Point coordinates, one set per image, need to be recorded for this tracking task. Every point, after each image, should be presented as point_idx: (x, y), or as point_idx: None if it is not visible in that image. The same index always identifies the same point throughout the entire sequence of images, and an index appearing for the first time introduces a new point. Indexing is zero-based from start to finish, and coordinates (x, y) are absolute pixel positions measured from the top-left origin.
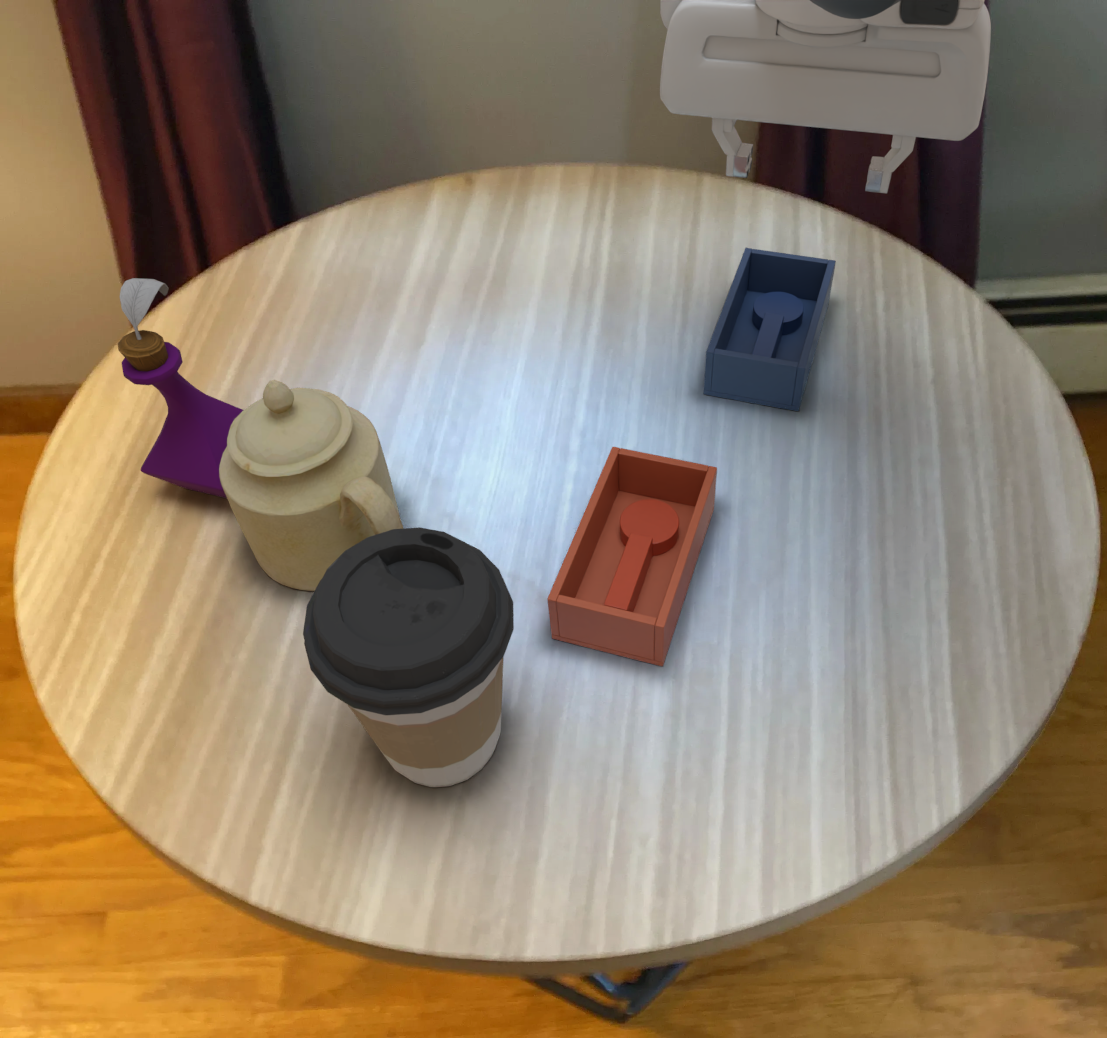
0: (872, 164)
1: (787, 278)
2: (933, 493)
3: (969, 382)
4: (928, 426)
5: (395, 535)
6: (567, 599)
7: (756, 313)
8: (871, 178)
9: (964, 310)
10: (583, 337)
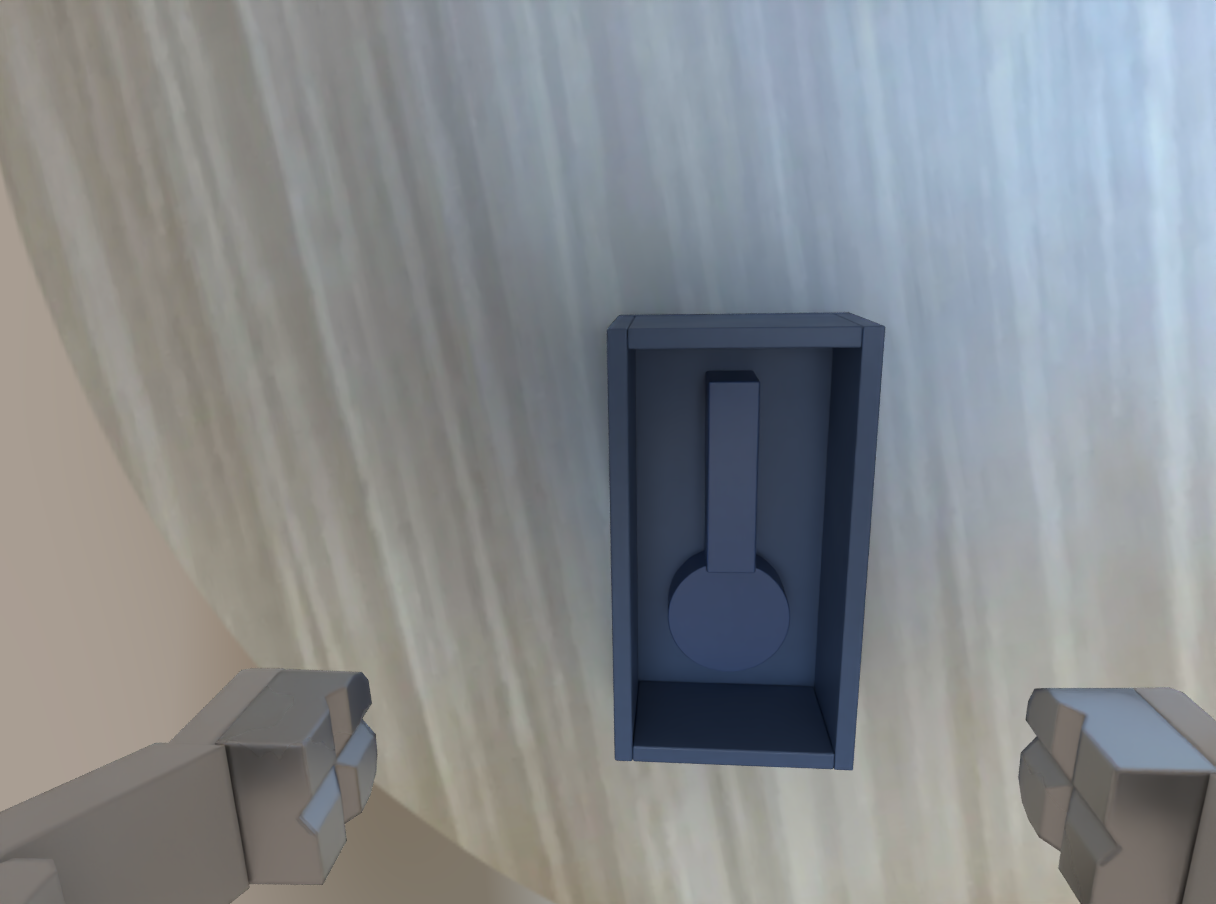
0: (295, 801)
1: (725, 711)
2: (288, 138)
3: (294, 504)
4: (342, 347)
5: None
6: None
7: (776, 582)
8: (302, 710)
9: None
10: (1202, 442)
